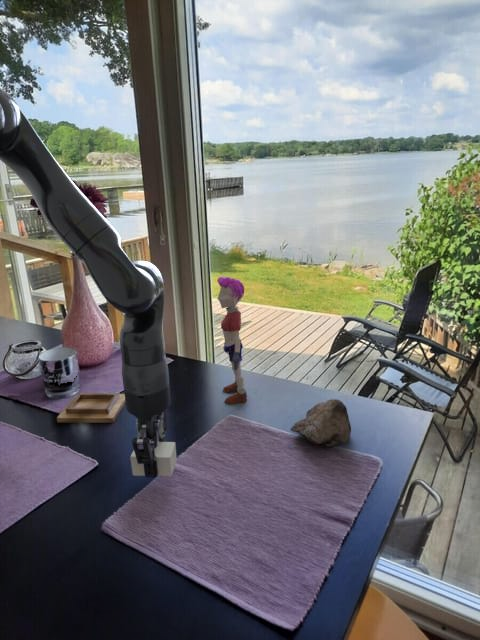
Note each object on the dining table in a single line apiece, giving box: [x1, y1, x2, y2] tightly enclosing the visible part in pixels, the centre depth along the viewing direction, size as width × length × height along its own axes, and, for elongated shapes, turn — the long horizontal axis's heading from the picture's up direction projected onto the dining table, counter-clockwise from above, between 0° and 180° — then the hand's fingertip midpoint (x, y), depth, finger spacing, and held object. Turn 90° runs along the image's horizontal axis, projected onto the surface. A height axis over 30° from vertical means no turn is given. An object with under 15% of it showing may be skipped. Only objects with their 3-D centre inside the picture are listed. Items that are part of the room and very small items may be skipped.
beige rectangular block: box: [130, 441, 178, 477], centre depth 79 cm, size 7×4×4 cm, turn 87°
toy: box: [217, 276, 248, 405], centre depth 104 cm, size 16×6×30 cm, turn 6°
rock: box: [290, 399, 352, 448], centre depth 90 cm, size 13×12×10 cm
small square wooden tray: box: [56, 392, 126, 424], centre depth 104 cm, size 13×11×2 cm
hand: (155, 466), depth 79 cm, fingers closed on beige rectangular block, 4 cm apart
